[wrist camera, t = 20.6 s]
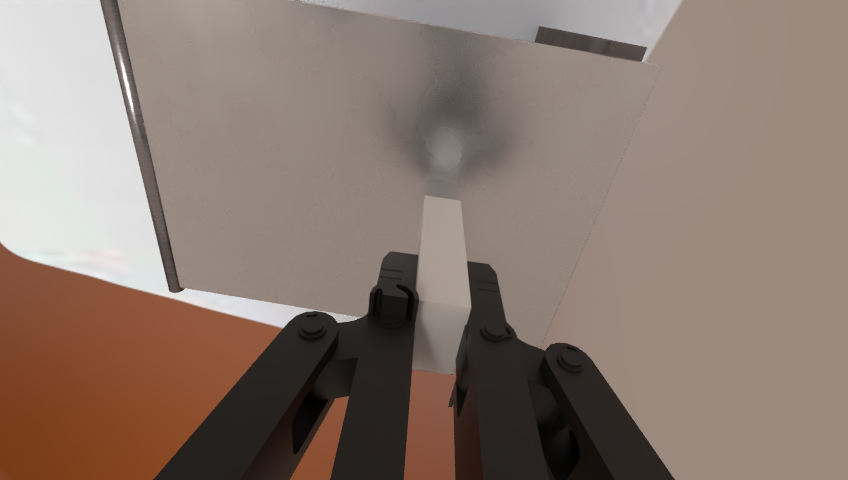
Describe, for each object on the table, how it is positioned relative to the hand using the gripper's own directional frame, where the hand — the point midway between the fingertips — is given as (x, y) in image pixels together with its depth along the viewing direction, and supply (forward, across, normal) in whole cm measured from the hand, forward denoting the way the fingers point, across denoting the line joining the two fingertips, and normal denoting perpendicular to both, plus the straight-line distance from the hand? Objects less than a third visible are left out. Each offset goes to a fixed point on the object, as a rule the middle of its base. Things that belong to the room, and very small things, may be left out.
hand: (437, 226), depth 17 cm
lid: (+3, -4, 0) cm, 5 cm away
